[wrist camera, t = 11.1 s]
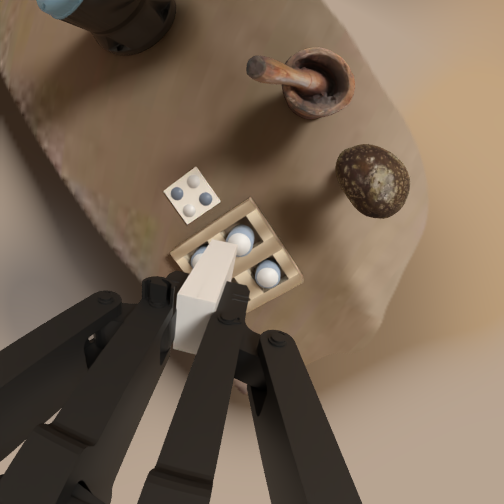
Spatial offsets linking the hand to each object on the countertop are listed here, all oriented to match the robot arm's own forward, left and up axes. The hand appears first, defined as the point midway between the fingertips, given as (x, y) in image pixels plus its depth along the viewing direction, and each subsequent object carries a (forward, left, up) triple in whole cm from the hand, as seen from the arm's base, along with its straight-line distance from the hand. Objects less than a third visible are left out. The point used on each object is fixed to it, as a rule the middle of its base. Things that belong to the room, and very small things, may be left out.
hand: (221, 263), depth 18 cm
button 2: (+5, -6, -30) cm, 31 cm away
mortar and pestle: (-8, +13, -33) cm, 36 cm away
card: (-4, -10, -32) cm, 34 cm away
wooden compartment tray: (+9, -10, -32) cm, 35 cm away
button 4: (+13, -6, -32) cm, 35 cm away
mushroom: (+6, +14, -33) cm, 36 cm away
